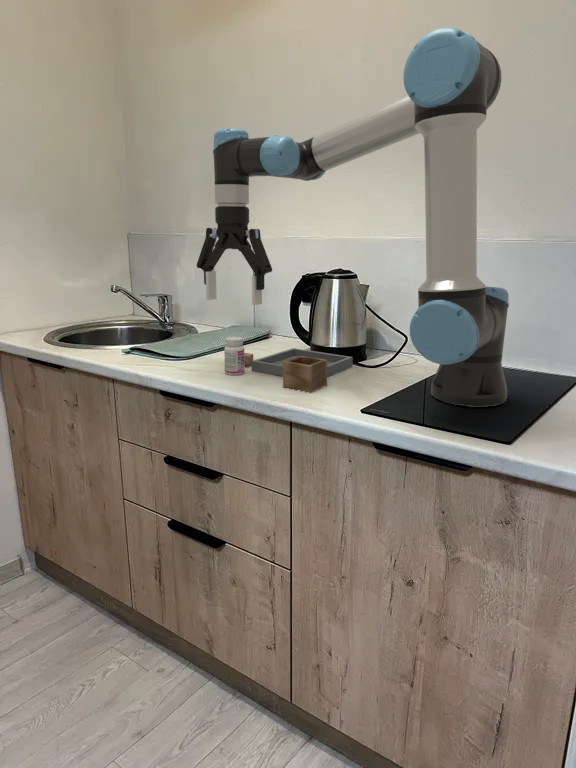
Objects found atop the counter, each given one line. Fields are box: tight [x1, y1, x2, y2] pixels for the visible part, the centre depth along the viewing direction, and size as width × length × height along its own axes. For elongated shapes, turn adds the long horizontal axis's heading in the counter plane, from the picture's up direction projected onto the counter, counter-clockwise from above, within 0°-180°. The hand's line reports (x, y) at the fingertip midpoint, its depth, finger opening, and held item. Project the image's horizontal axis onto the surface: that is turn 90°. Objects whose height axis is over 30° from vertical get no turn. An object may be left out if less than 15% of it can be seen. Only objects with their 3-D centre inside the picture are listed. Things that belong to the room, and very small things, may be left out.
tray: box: [251, 347, 354, 378], centre depth 141 cm, size 18×18×2 cm
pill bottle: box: [223, 336, 246, 376], centre depth 136 cm, size 5×5×8 cm
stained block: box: [244, 352, 254, 368], centre depth 145 cm, size 6×3×3 cm, turn 71°
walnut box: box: [282, 356, 328, 394], centre depth 126 cm, size 7×7×6 cm
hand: (233, 302), depth 133 cm, fingers open, 13 cm apart
